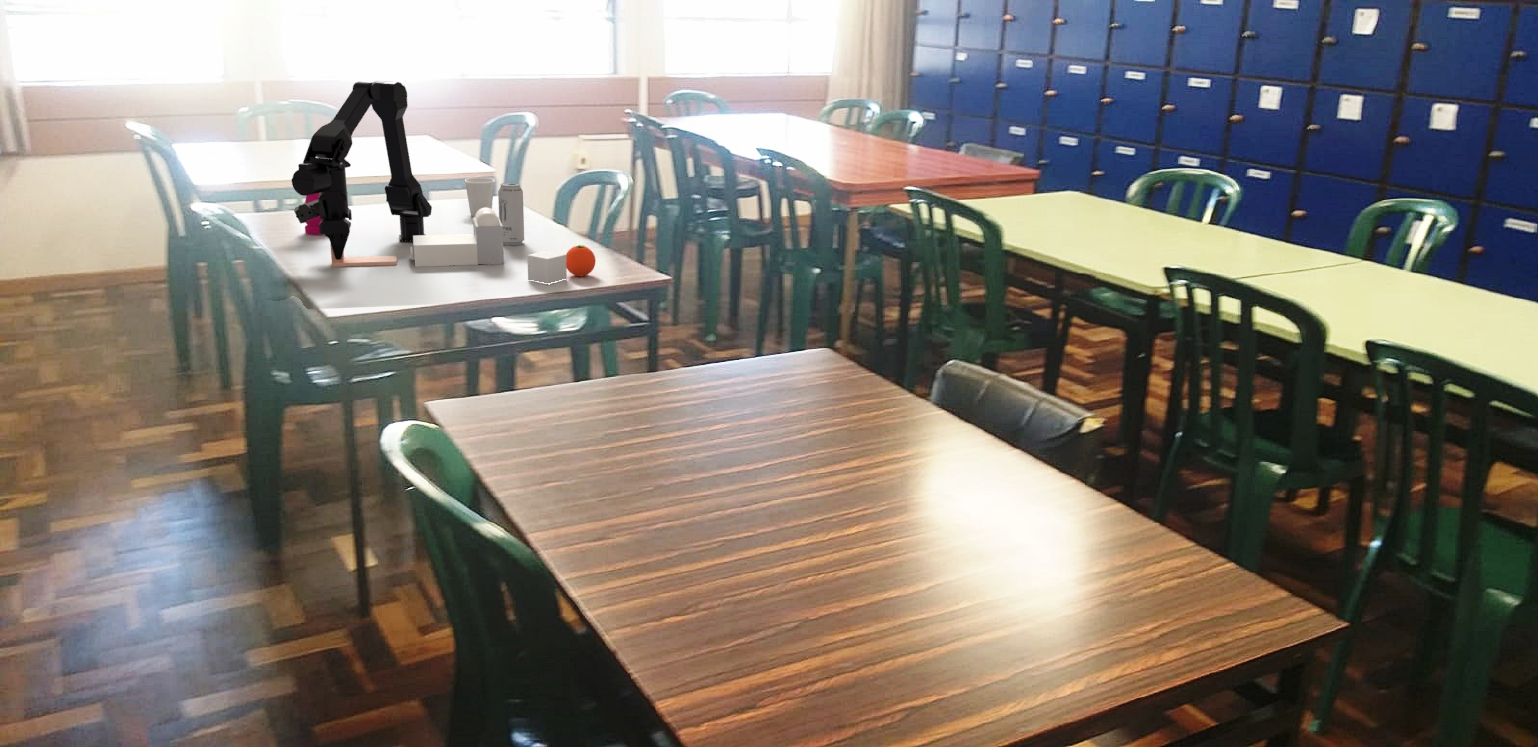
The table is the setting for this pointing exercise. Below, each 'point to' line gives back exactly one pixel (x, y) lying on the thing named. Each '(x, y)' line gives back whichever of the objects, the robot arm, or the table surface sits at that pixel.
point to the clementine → (580, 260)
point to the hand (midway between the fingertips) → (338, 257)
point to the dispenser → (463, 244)
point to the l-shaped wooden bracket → (362, 260)
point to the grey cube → (547, 267)
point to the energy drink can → (511, 213)
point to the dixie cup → (479, 193)
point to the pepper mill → (313, 224)
